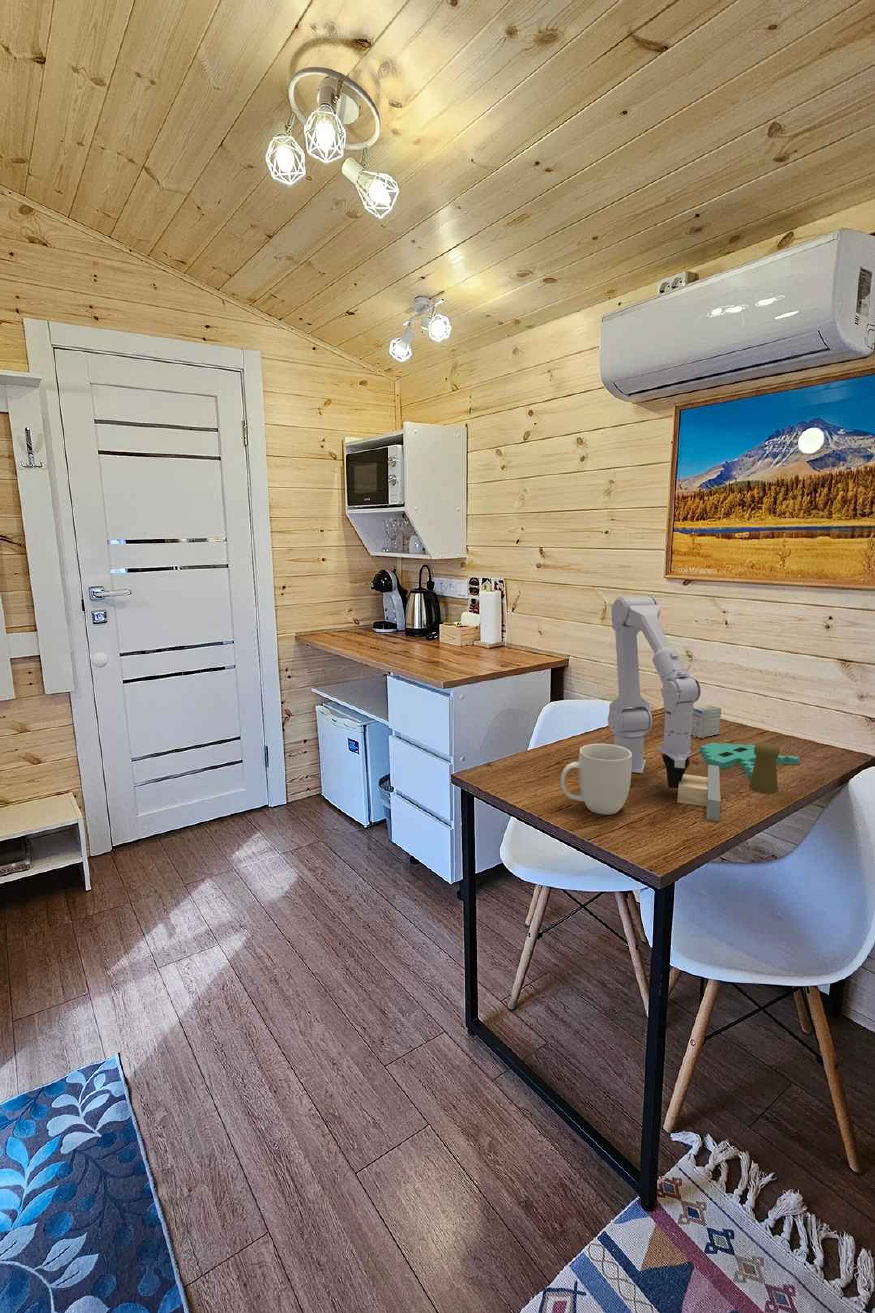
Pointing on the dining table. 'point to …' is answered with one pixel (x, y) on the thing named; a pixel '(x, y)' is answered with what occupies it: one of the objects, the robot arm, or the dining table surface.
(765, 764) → the cork
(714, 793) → the board
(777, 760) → the alien figure
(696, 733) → the medicine box
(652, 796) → the dining table surface
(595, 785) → the mug
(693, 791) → the maple block
